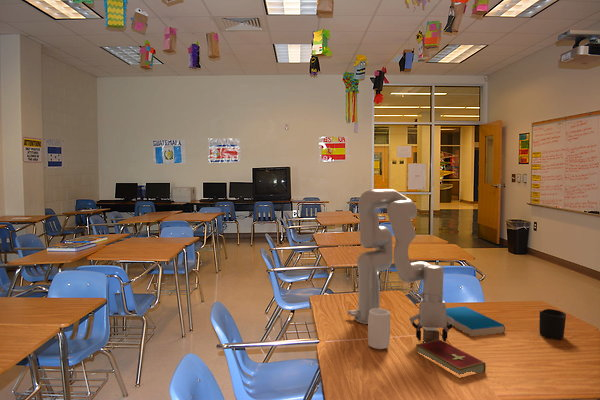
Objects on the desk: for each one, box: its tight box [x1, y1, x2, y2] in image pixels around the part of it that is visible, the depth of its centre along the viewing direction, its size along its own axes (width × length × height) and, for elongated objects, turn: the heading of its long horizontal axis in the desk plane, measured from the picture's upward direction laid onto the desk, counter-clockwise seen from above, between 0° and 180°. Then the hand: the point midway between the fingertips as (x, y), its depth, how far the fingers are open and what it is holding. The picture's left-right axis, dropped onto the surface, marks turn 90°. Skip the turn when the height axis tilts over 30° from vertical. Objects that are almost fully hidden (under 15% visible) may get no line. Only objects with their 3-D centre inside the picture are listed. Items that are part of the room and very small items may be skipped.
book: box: [446, 305, 506, 337], centre depth 185 cm, size 17×4×25 cm
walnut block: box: [422, 327, 440, 343], centre depth 163 cm, size 5×5×6 cm
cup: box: [367, 307, 391, 350], centre depth 159 cm, size 8×8×14 cm
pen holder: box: [538, 308, 567, 341], centre depth 173 cm, size 9×9×10 cm
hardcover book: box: [416, 339, 487, 375], centre depth 148 cm, size 12×21×4 cm, turn 25°
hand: (431, 339), depth 163 cm, fingers open, 9 cm apart
